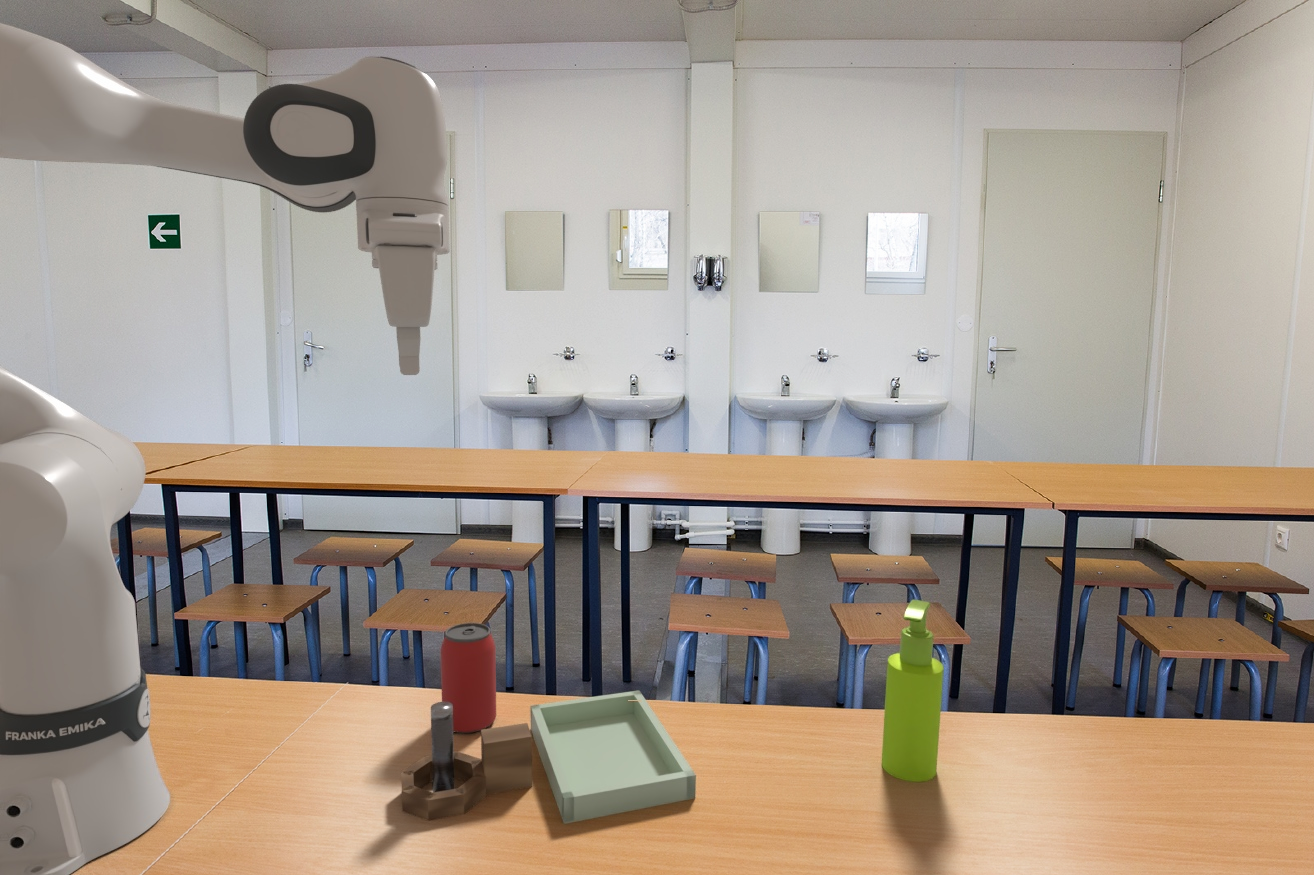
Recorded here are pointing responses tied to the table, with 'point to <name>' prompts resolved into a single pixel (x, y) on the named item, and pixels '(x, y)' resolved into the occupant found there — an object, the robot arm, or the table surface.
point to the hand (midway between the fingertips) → (408, 371)
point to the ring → (472, 774)
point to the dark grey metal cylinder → (442, 746)
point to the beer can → (469, 676)
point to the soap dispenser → (913, 702)
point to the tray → (608, 756)
